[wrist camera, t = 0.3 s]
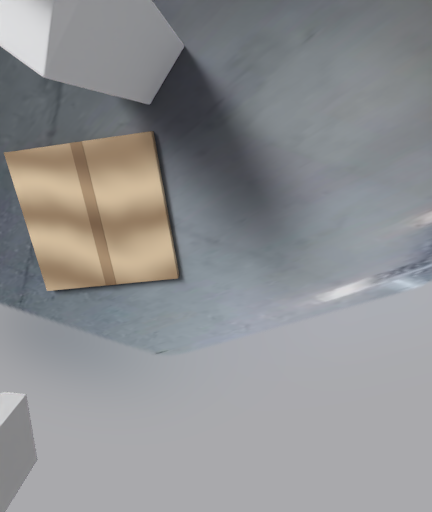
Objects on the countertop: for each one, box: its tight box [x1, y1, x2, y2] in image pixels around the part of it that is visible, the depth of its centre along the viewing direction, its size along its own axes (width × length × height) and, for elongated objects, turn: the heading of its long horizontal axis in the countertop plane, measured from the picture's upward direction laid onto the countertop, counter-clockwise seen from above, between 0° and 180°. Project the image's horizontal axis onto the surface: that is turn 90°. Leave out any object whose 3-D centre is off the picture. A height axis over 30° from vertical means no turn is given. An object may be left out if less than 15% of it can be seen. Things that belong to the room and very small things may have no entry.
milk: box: [0, 0, 184, 105], centre depth 22 cm, size 6×6×22 cm
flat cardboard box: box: [4, 131, 179, 291], centre depth 37 cm, size 15×15×1 cm
